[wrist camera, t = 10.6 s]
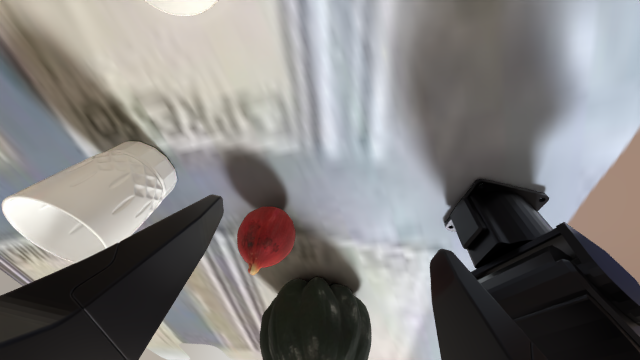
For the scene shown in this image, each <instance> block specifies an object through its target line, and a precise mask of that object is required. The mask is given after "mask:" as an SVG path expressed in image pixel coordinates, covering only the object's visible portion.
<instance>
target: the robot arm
mask: <svg viewBox="0 0 640 360" xmlns="http://www.w3.org/2000/svg"><path fill="white" fill-rule="evenodd" d="M480 184H482V185H480ZM540 198H541V199H540ZM548 200H549V197H548V196H547V195H546V194H545V193H541V192H537V191H533V190H529V189H524V188H520V187H516V186H512V185H507V184H503V183H499V182H495V181H490V180H486V179H478V180H476V181H475V182H474V183H473V185H472V186H471V188H470V189H469V190H468V192H467V193H466V195H465V196H464V197H463V198H462V199H461V201H460V202H459V203H458V205H457V206H456V208H455V209H454V210H453V212H452V213H451V215H450V217H449V218H448V220H447V221H446V223H445V227H446V229H447V230H449V231H454V232H457V234H458V237H459V239H460V241H461V244H462V246H463V248H464V249H467V250H468V253H469V255H470V257H471V260H472V262H473V264H474V267H475V268H476V270H474V271H472V272H470V271H469V270H468V269H467V268H466V267H465V266H464V264H463V263H462V262H461V261H460V260H459V259H458V258H457V256H456V255H455V254H454V253H453V252H452V251H449V250H445V249H440V250H439V251H438V252H437V253H436V255H435V256H434V257H433V259H432V260H431V262H430V277H431V295H432V305H433V312H434V318H435V324H436V330H437V336H438V342H439V348H440V354H441V360H640V285H639V284H638V282H637V281H636V280H635V278H633V277H632V276H631V275H630V274H629V273H628V272H627V271H626V270H625V269H624V268H623V267H622V266H621V265H620V264H619V263H618V262H616V261H615V260H614V259H613V258H612V257H611V256H610V255H609V254H608V253H607V252H606V251H605V250H603V249H602V248H600V247H599V246H597V245H596V244H595V243H593V242H592V241H590V240H589V239H588V238H586V237H585V236H583V235H582V234H581V233H579V232H578V231H576V230H575V229H573V228H572V227H571V226H569V225H568V224H566V223H565V222H563V223H561V224H559V225H557V226H556V227H557V228H555V229H552V227H551V226H550V225H549V224H548V223H547V222H546V220H545V219H544V218H543V217H542V216H541V215H540V213H539V212H538V210H539V209H540V208H541V207H542V206H543V205H544V204H545V203H546V202H547V201H548ZM223 212H224V209H223V199H222V197H221V196H217V195H209V196H207V197H205V198H203V199H201V200H200V201H198V202H196V203H194V204H192V205H190V206H188V207H186V208H184V209H182V210H180V211H178V212H176V213H174V214H172V215H170V216H168V217H166V218H165V219H163V220H161V221H159V222H157V223H155V224H153V225H151V226H149V227H147V228H145V229H143V230H141V231H139V232H137V233H135V234H133V235H131V236H129V237H128V238H126V239H124V240H122V241H120V243H116V244H114V245H112V246H110V247H108V248H106V249H104V250H102V251H100V252H98V253H96V254H94V255H92V256H90V257H88V258H86V259H83V260H81V261H79V262H77V263H75V264H72V265H70V266H68V267H66V268H63V269H61V270H59V271H57V272H54V273H52V274H50V275H47V276H45V277H43V278H41V279H38V280H36V281H34V282H31V283H29V284H27V285H25V286H22V287H20V288H18V289H16V290H13V291H11V292H8V293H6V294H4V295H1V296H0V360H139V358H140V356H141V355H142V353H143V352H144V350H145V348H146V347H147V345H148V343H149V342H150V340H151V339H152V337H153V335H154V334H155V332H156V331H157V329H158V327H159V326H160V324H161V322H162V321H163V319H164V318H165V316H166V314H167V313H168V311H169V310H170V308H171V306H172V305H173V303H174V301H175V300H176V298H177V297H178V295H179V293H180V292H181V290H182V289H183V287H184V285H185V284H186V282H187V280H188V279H189V277H190V276H191V274H192V272H193V271H194V269H195V268H196V266H197V264H198V263H199V261H200V259H201V258H202V256H203V255H204V253H205V251H206V250H207V248H208V246H209V244H210V242H211V239H212V237H213V235H214V233H215V231H216V229H217V227H218V225H219V223H220V220H221V218H222V216H223ZM450 225H452V226H450Z"/></svg>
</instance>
